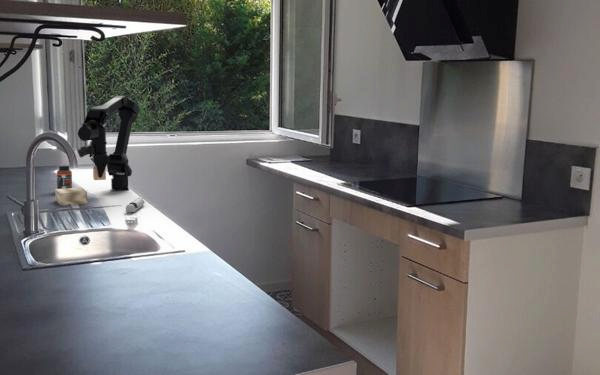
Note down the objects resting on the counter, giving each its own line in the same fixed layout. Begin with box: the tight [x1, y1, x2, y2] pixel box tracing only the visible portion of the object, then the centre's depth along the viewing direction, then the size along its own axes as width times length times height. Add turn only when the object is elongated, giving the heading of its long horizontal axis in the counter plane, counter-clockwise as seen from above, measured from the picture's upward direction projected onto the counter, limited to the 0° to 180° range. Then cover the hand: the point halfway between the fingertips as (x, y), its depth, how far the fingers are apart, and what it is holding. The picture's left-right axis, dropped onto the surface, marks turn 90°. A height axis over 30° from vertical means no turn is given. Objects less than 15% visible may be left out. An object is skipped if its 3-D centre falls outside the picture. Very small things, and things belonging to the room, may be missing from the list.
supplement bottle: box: [56, 164, 73, 189], centre depth 271 cm, size 6×6×11 cm
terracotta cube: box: [92, 165, 107, 181], centre depth 264 cm, size 4×4×5 cm
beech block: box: [54, 187, 88, 206], centre depth 250 cm, size 10×10×5 cm
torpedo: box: [125, 197, 147, 214], centre depth 241 cm, size 18×5×6 cm, turn 179°
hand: (99, 176), depth 264 cm, fingers closed on terracotta cube, 4 cm apart
